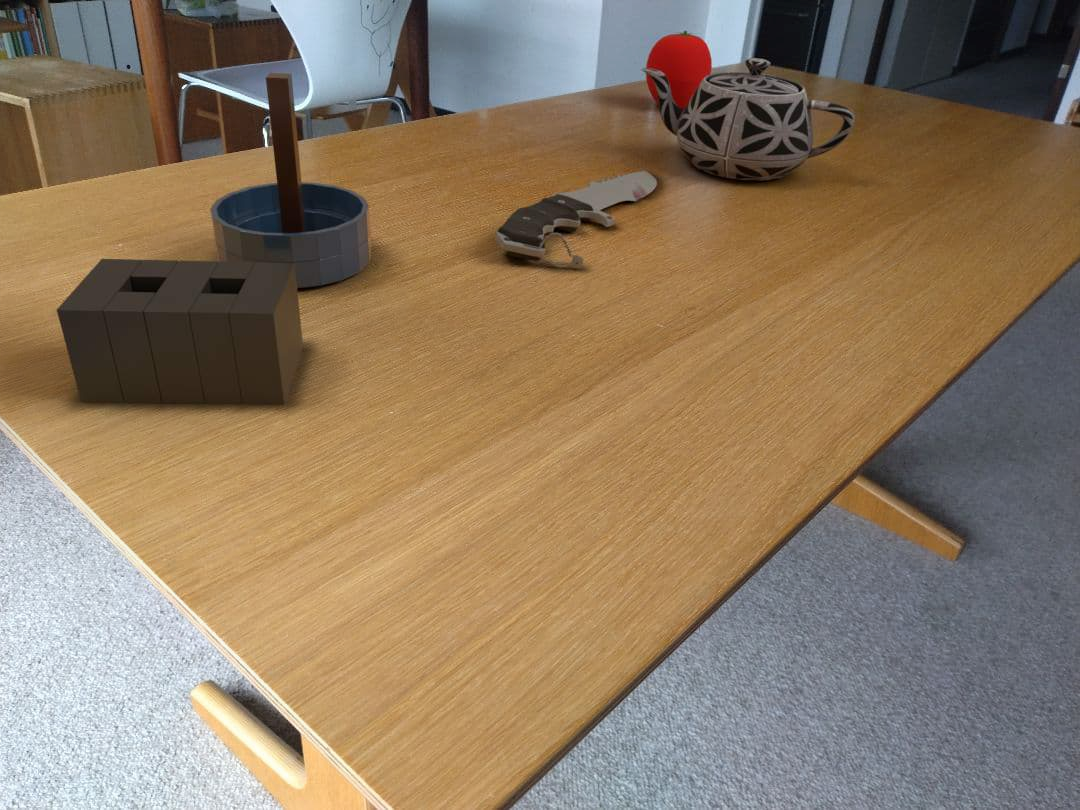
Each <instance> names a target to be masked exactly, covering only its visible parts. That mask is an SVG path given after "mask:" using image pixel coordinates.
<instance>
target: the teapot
mask: <svg viewBox="0 0 1080 810" xmlns="http://www.w3.org/2000/svg"><path fill="white" fill-rule="evenodd" d="M744 64H745V67H746V68H747V69H748V72H743V71H741V72H740V71H726V72H716V73H711V74H710V75H708V76H706V77H705V78H704V79H703V80H702V81H701V83H700V84H699V86H698V88H697V89H696V91H695V92H694V94H693V96H692V97H691V99H690V101H689V103H688V104H687V106H686V108H685V110H684V109H682V108H680V107H679V106H678V105H677V104H676V103H675V102H674V100H673V97H672V94H671V89H670V85H669V81H668V79H667V77H666V76H665V75H664V73H663V72H661V71H659V70H654V69H649V68H646V67H640V70H641V71H642V72H644V73H645V75H646V74H648V75H649V76H650V77H651V78H652V80H653V82H654V83H655V86H656V89H657V94H658V101H659V104H658V109H659V115H660V118H661V121H662V123H663V125H664V126H665V128H666V129H667V131H669V132H670V133H671V134H672V135H674V136H676V139H677V143H678V146H679V148H680V150H681V151H682V152H683V154H684V155H685V157H686V158H687V159H689V160H690V163H691V165H693V166H694V167H695V168H697V169H698V170H699V171H702V172H704V173H707V174H711V175H713V176H717V177H720V178H726V179H731V180H739V181H749V182H750V181H751V182H764V181H772V180H773V181H774V180H777V179H781V178H783V177H785V176H787V175H788V174H789V173H790V172H792V171H795V170H796V169H797V168H799V167H800V166H802V165H803V164H804V163H805V162H806V161H807V160H808V159H812V158H816V157H818V156H820V155H823V154H825V153H827V152H829V151H832V150H833V149H835V148H836V147H838V146H840V144H842V143H843V142H844V141H845V140H846V139H847V138H848V137H849V136H850V134H851V133H852V130H853V128H854V126H855V122H856V116H855V113H854V112H853V110H851V109H850V108H848V107H846V106H844V105H840V104H838V103H832V102H829V101H821V100H815V99H809V98H808V94H807V90H806V88H805V87H804V86H803V84H801V83H798V82H796V81H795V80H792V79H788V78H784V77H779V76H775V75H769V74H764V72H765V71H766V70H767V69H768V68H769V67H770V66H771V62H770V61H769V60H767V59H764V58H758V57H750V58H746V59H745V60H744ZM811 110H814V111H820V112H827V113H832V114H835V115H837V116H840V117H841V118H842V119H843V122H842V124H841V126H840V128H839V130H838V131H837V133H836V134H835V135H834V136H833V137H832V138H830V139H829V140H828V141H826V142H825V143H823V144H821V145H819V146H816V147H813V145H814V124H813V116H812V112H811Z"/></svg>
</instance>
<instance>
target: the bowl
mask: <svg viewBox="0 0 1080 810" xmlns="http://www.w3.org/2000/svg"><path fill="white" fill-rule="evenodd" d="M301 182H302V192H303V203H304V214H305V224H306V232H300V233H282V223H281V214H280V205H279V196H278V186H277V182H269V183H262V184H257V185H251V186H247V187H243V188H241V189H237V190H235V191H234V190H233V191H231V192H229V193H226V194H224V196H221V197H220V198H218V199H216V200H215V201H214V203H213V204H212V205H211V207H210V209H209V210H210V217H211V224H212V231H213V236H214V238H213V239H214V243H215V249H216V257H217V262H220V261H222V262H254V263H255V262H263V263H294V264H295V273H296V282H297V289H305V288H314V287H320V286H324V285H329V284H332V283H336V282H340V281H343V280H345V279H348V278H349V277H352V276H354V275H357V274H359V273H360V272H361V271H362V270H364V268H365V267H366V266H368V265H369V264H370V261H371V258H372V239H371V220H370V204H369V203H368V201H367V200H366V198H365V197H364V196H363V195H361V194H359V193H358V192H355V191H354V190H352V189H348V188H345V187H341V186H338V185H335V184H334V185H333V184H328V183H327V184H326V183H321V182H309V181H308V182H307V181H301Z"/></svg>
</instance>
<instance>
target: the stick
mask: <svg viewBox="0 0 1080 810" xmlns="http://www.w3.org/2000/svg"><path fill="white" fill-rule="evenodd" d="M265 83H266V85H265V86H266V94H267V104H268V113H269V120H270V129H271V130H270V131H271V140H272V148H273V157H274V159H273V160H274V167H275V175H276V176H275V177H276V183H277V186H278V196H279V205H280V214H281V223H282V233H300V232H306V224H305V214H304V203H303V192H302V182H303V181H302V172H301V162H300V161H301V160H300V151H299V141H298V139H299V138H298V129H297V119H296V118H297V117H296V107H295V97H294V96H295V95H294V88H293V87H294V86H293V76H292V73H284V72H283V73H282V72H269V73H268V74H267V76H266V77H265Z"/></svg>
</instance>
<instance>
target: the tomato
mask: <svg viewBox="0 0 1080 810" xmlns="http://www.w3.org/2000/svg"><path fill="white" fill-rule="evenodd" d="M712 61H713V60H712V56H711V51H710V49H709V46H708V44H707V43H706V41H705V40H704V39H703V37H701V36H698V35H695V34H693V33H692V32H691V33H688V30H684V31H683V32H679V31H678V32H677V33H672V34H668V35H665V36H662V37H661V38H660V39H658V40H657V41H656V43H655V44H654V45H653V47H652V48H651V49H650V51H649V54H648V57H647V60H646V66H645V68H649V69H654V70H659V71H661V72H663V73H664V75H665V76H666V77H667V79H668V81H669V85H670V89H671V94H672V97H673V100H674V102H675V103H676V104H677V105H678V106H679V107H680V108H682V109H684V110H685V108H686V106H687V104H688V103H689V101H690V99H691V97H692V96H693V94H694V92H695V91H696V89H697V88H698V86H699V84H700V83H701V81H702V80H703V79H704V78H705V77H706V76H708V75H711V74H712V68H713V65H712V64H713V62H712ZM645 80H646V84H647V88H648V91H649V92H650V95H651V98H652V99H653V100H654V101H655V103H656V104H657V105H659V101H658V94H657V89H656V86H655V83H654V82H653V80H652V78H651V77H650V76H649V75H648V74H646V73H645Z"/></svg>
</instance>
